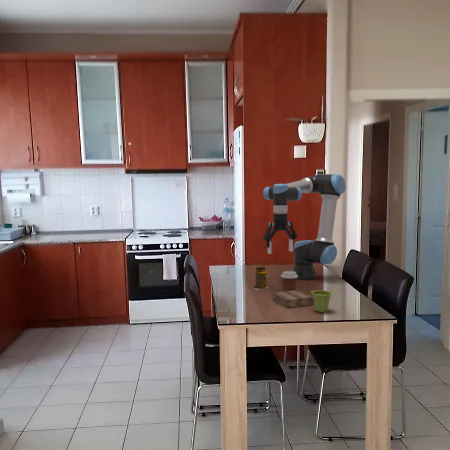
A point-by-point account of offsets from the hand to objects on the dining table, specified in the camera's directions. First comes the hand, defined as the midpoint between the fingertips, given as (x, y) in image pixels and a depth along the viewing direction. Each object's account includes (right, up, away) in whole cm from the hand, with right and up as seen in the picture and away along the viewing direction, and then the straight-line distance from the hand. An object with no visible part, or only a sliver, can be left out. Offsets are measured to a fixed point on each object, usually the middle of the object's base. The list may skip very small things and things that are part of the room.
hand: (280, 252), depth 246 cm
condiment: (-10, -21, +16) cm, 28 cm away
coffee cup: (+5, -23, +1) cm, 23 cm away
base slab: (+4, -24, -15) cm, 29 cm away
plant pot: (+16, -26, -29) cm, 42 cm away
